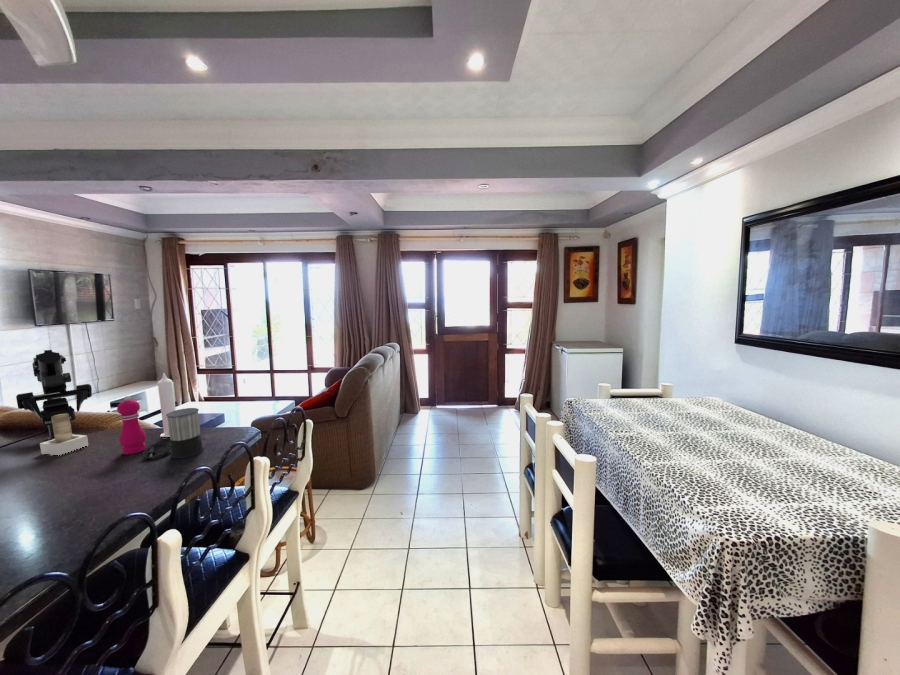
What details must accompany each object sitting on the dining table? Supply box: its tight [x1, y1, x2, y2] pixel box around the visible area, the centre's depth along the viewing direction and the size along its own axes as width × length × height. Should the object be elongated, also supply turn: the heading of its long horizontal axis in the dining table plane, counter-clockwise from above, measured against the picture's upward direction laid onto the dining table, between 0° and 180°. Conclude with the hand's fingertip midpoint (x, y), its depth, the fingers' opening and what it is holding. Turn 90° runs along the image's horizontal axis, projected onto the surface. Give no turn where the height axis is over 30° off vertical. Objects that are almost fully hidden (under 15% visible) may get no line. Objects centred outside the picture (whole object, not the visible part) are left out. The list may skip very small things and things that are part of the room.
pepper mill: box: [116, 395, 147, 456], centre depth 130 cm, size 7×7×20 cm
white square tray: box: [39, 434, 89, 457], centre depth 134 cm, size 9×9×4 cm
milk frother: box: [142, 407, 204, 460], centre depth 126 cm, size 14×16×15 cm
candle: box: [157, 372, 177, 438], centre depth 145 cm, size 7×7×25 cm
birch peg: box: [51, 413, 73, 443], centre depth 134 cm, size 4×4×13 cm
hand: (60, 414), depth 132 cm, fingers open, 9 cm apart
